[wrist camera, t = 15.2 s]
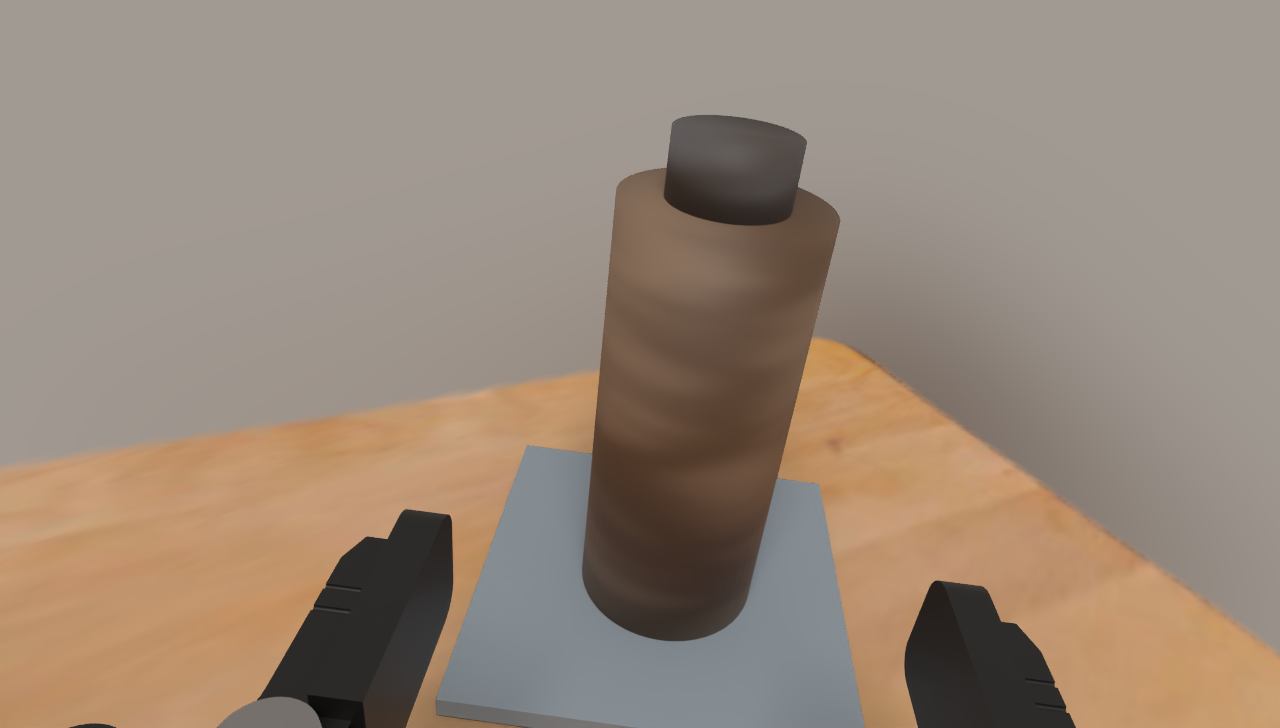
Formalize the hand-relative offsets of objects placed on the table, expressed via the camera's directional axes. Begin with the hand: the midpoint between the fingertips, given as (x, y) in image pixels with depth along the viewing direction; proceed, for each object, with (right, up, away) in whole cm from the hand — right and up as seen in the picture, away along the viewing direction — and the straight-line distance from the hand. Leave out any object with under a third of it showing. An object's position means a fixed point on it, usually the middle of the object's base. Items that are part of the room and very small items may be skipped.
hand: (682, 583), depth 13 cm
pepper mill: (0, -3, +11) cm, 12 cm away
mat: (0, -3, +12) cm, 12 cm away
